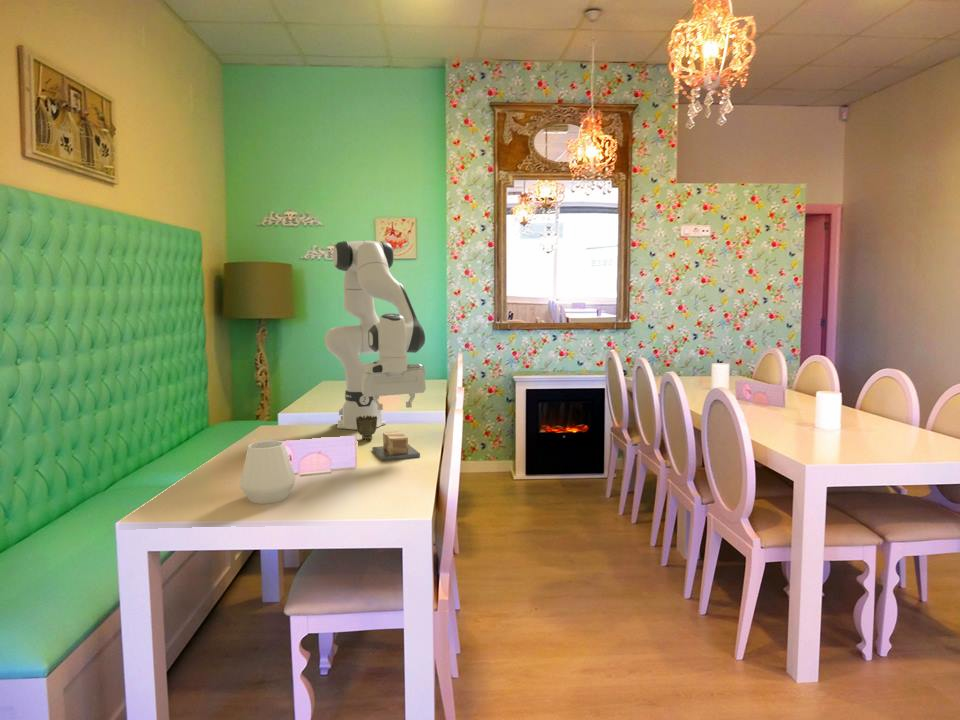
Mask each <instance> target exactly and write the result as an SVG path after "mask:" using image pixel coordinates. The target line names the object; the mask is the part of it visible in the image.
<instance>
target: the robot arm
mask: <svg viewBox="0 0 960 720" xmlns="http://www.w3.org/2000/svg"><path fill="white" fill-rule="evenodd" d="M331 255H332V256H331V258H332V262H333V265H334V268H336V269H337V270H339V271H342V272H344V279H343V308H344V310H345V311H346V313H347V314H349V315H351V316H353V317H355V318H357V319H358V320H359V323H360V324H359V325H340V326H336V327H333V328H331V327H330V328H329V330H327V332H326V334H325V337H324V344H325V347H326V350H328V352H329V353H330V354H332V355H333V356H335V357H336V359H338V360H339V362H340V363H341V365H342V367H343V371H344V376H345V386H346V388H345V393H344V399H345V401H344V403H343V406H342V408H339V409H338V416H340V418H338V419H337V426H336V428H337V429H344V430H345V429H346V430H358V429H357V423H356V419H357V417H359V416H361V417H363V416H365V418H366V416H367V415H368V416H371V417H373V416H374V417H375V416H377V426H376V428H378V427H381V426H383V425H387V421H386V420H384V419H383V417H382V416H383V414H382V411H383V410H384V409H383V407H384V405H383V403H380V402H379V400H380V397H382V396H383V397H385V396H396V395H398V396H399V395H408V396H409V399H408V401H406V402H405V407H406V409H409V408H410V409H411V408H412V406H413V405H412V403H413V402H414V399H415V398H416V394H422V393H425V392H426V380H425V376H426V368H425V366H424V365H422V364H420V363H417V364H416V363H415V364H408V353H409V354H410V353H411V354H412V353H417V352H419V351H420V350H421V349H422V348H423V347H424V345H425V343H426V336H425V335H426V334H425V331H424V328H423V326H422V324H421V323H420V321H419V320H418V318H417V315H416V313H415V310H414V308H413V305H412V303H411V300H410V298H409V296H408V293H407V291H406V289H405V287H404V285H403V284H402V283H400V282H399V281H398V280H396V278H395V277H394V276H393V275H392V273H391V271H390V269H391V267H392V266H393V264H394V260H395V253H394V249H393V247H392V245H391V243H388V242H385V241H377V240H375V241H374V240H354V241H353V240H352V241H346V240H342V241H339V242H337V243H336V244H334V246H333V249H332V254H331ZM375 298H376V299H379V300H382V301H385V302H388V303H391V304H392V305H393V306H394V307H395V308H396V309H397V311H398V313H384V314H382V315H380V317H379V316H378V314H377V312H376V307H375ZM363 354H364V355H367V354H378V360H375V361H373V362H370V363H366V362H364V361H361V359H360V355H363Z"/></svg>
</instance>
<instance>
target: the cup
mask: <svg viewBox="0 0 960 720" xmlns="http://www.w3.org/2000/svg"><path fill="white" fill-rule="evenodd" d="M356 423H357V429H356V430H357V433H359V435H360V436H361V439H362V440H363V441H370V440H372V439H373V435H374V434H375V432H376V430H377V427H376V426H377V416H375V417H374V416H373V417H371V416H368V415H367V416H366V418H365V416H363V417H361V416H359V417H357V419H356Z"/></svg>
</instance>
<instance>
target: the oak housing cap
mask: <svg viewBox="0 0 960 720" xmlns="http://www.w3.org/2000/svg"><path fill="white" fill-rule="evenodd" d="M408 438H409V437H408V436H407V435H406V434H404V433H403V432H402V431H400V430H396V431H395V430H394V431H387V432H385V431H384V432H382V441H383V444H382V446H383V448H384V449H385V450H386V451H388V452H389V453H390V454H391V455H393V454H403V453H408V444H409V439H408Z"/></svg>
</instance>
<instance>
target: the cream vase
mask: <svg viewBox="0 0 960 720" xmlns="http://www.w3.org/2000/svg"><path fill="white" fill-rule="evenodd" d="M295 483H296V476H295V473H294V469H293V466H292V463H291V460H290V457H289V453H288V450H287V447H286V444H285V442H283V441H281V440H273V439H272V440H271V439H270V440H260V441H255V442H252V443H250V444H248V446H247V450H246V455H245V459H244V464H243V468H242V473H241V478H240V482H239V487H240V489H241V490H242V492H243V494H244V495H245V497H247V499H248V500H249V501H250V502H251V503H254V504H259V505H260V504H261V505H262V504H263V505H265V504H266V505H267V504H273V503H277V502H282V501H284V500H286V499H287V498H288V496H289V495H290V494H291V491H292V489H293V488H294V486H295Z"/></svg>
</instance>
